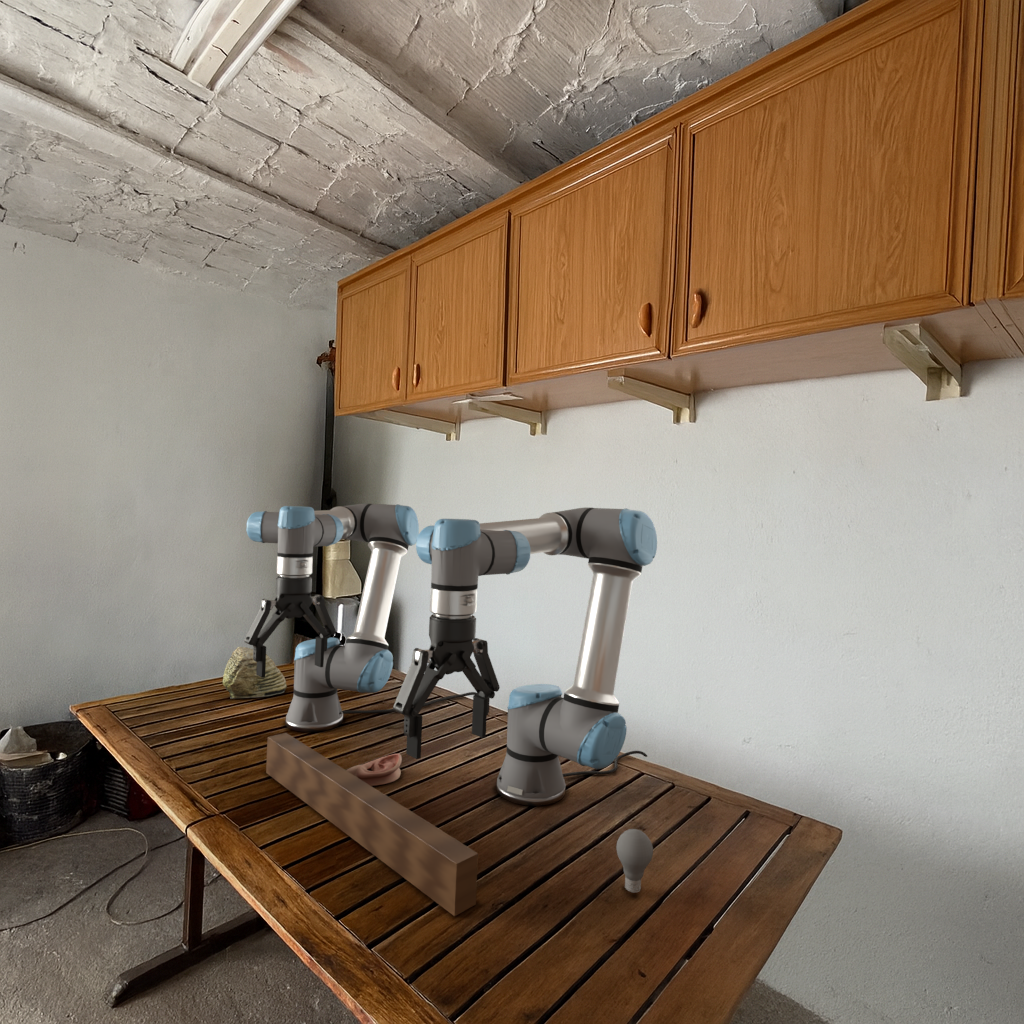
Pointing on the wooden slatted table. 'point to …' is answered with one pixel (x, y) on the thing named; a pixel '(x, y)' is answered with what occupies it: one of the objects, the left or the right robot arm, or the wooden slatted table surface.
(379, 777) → the anatomical model
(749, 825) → the wooden slatted table surface
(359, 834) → the bar
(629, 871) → the light bulb
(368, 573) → the left robot arm
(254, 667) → the fossil
